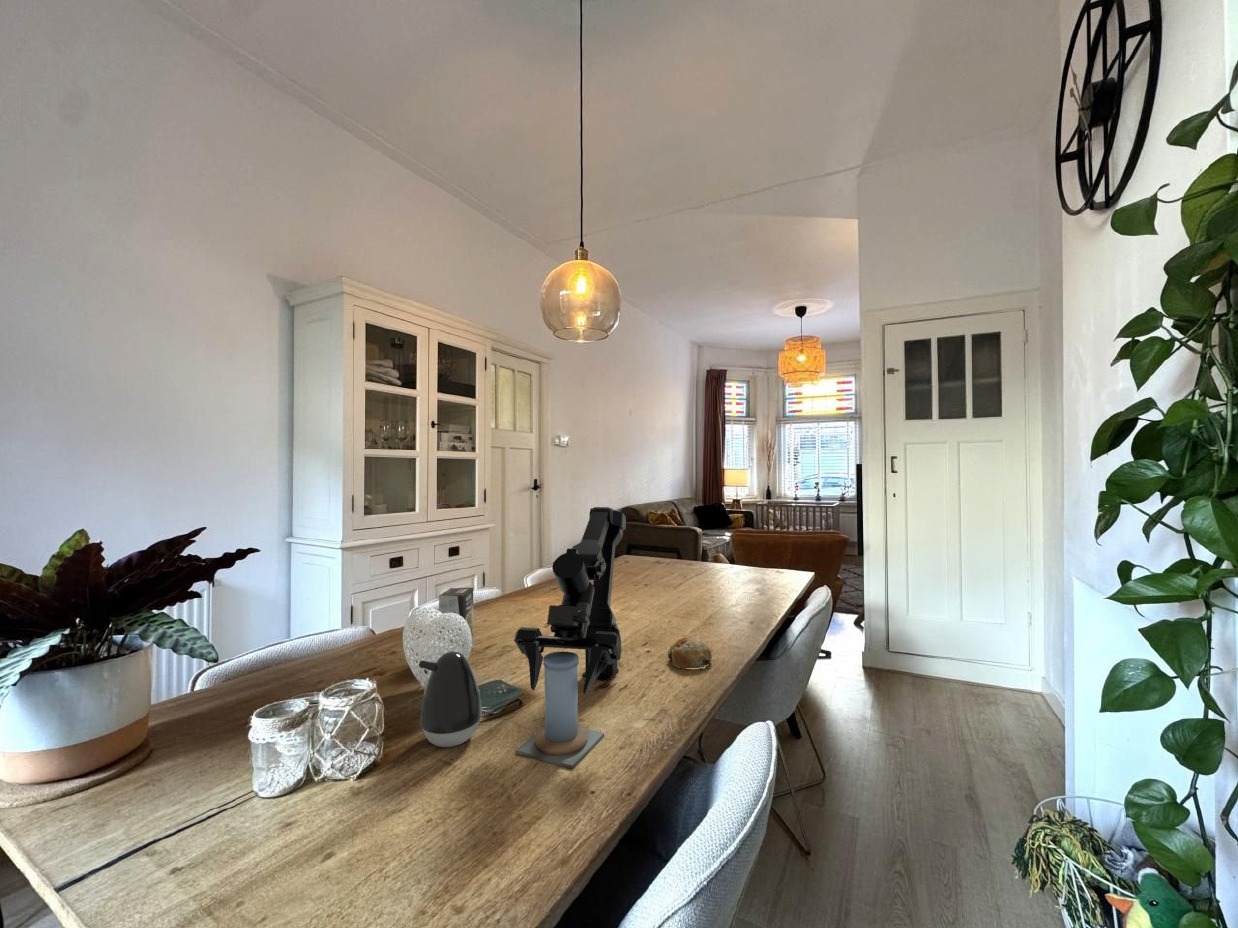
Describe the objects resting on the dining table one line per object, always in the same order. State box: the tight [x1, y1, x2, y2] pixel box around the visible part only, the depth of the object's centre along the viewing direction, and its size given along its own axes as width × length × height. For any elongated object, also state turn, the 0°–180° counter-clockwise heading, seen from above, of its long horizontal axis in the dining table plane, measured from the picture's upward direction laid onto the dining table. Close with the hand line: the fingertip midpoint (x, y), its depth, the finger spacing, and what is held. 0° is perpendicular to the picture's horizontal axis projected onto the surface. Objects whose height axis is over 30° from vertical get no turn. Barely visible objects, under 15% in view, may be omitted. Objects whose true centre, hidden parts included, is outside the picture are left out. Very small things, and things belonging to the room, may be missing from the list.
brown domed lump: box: [666, 636, 713, 669], centre depth 124 cm, size 10×10×8 cm
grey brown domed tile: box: [515, 723, 605, 770], centre depth 87 cm, size 11×11×2 cm
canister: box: [542, 651, 580, 743], centre depth 88 cm, size 6×6×13 cm
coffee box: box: [438, 587, 475, 651], centre depth 132 cm, size 9×6×16 cm
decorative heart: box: [402, 606, 472, 689], centre depth 109 cm, size 18×11×17 cm, turn 56°
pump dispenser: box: [419, 651, 483, 748], centre depth 89 cm, size 10×10×15 cm
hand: (558, 691), depth 86 cm, fingers open, 9 cm apart
